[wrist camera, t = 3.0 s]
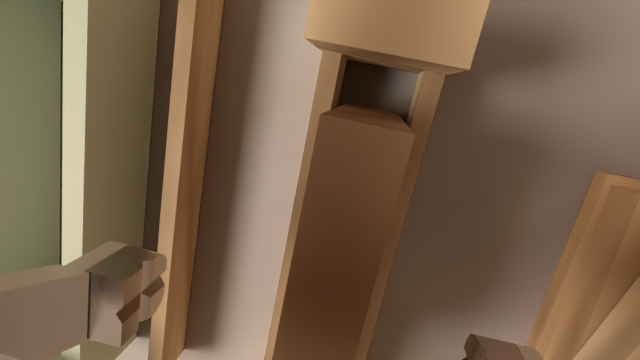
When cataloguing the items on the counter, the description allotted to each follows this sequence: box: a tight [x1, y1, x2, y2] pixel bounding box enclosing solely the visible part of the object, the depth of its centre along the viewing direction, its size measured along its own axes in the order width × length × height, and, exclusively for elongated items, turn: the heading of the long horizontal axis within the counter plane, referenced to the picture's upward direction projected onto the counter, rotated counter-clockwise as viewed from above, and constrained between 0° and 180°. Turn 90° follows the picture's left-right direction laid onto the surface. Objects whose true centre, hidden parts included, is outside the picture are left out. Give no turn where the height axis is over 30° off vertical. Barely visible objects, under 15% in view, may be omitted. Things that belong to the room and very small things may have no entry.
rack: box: [148, 0, 490, 360], centre depth 12 cm, size 22×16×4 cm
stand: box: [0, 0, 160, 360], centre depth 14 cm, size 5×16×4 cm, turn 168°
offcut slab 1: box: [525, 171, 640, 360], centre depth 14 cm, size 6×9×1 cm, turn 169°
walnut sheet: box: [272, 103, 415, 360], centre depth 11 cm, size 2×10×7 cm, turn 169°
